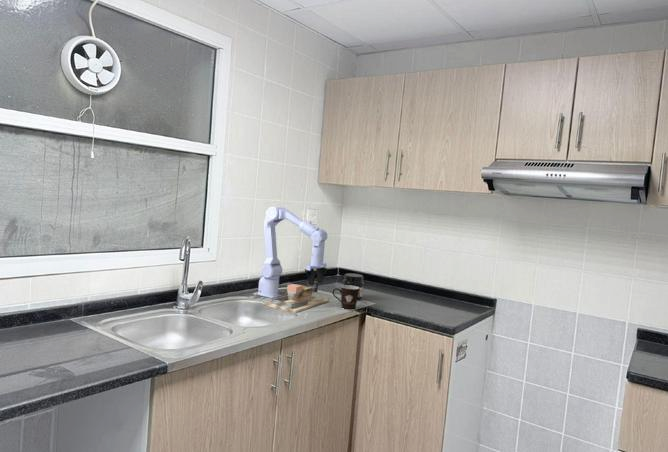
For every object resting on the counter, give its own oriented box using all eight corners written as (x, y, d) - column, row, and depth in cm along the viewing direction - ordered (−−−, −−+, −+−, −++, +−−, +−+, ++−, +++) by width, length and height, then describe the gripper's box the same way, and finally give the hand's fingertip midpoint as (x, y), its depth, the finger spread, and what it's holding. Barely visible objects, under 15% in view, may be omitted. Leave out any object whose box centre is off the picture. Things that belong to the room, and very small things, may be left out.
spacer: (287, 291, 215) (287, 285, 215) (293, 290, 219) (293, 284, 219) (295, 293, 212) (296, 287, 212) (302, 292, 217) (302, 285, 217)
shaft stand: (264, 305, 211) (265, 289, 210) (300, 295, 236) (301, 280, 235) (295, 312, 203) (296, 295, 202) (328, 301, 228) (330, 286, 227)
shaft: (286, 296, 215) (286, 285, 214) (308, 290, 232) (309, 280, 231) (295, 298, 212) (295, 287, 212) (317, 291, 229) (318, 281, 229)
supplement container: (365, 300, 236) (367, 277, 236) (346, 300, 233) (348, 277, 232) (357, 295, 246) (359, 273, 245) (338, 295, 242) (340, 273, 241)
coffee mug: (360, 308, 219) (362, 287, 219) (352, 311, 212) (353, 290, 211) (339, 303, 225) (341, 283, 225) (330, 306, 218) (332, 285, 217)
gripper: (316, 257, 210) (314, 287, 211) (332, 255, 223) (330, 283, 224) (303, 255, 214) (301, 284, 215) (320, 253, 226) (317, 280, 227)
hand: (315, 283), depth 219 cm, fingers open, 7 cm apart
